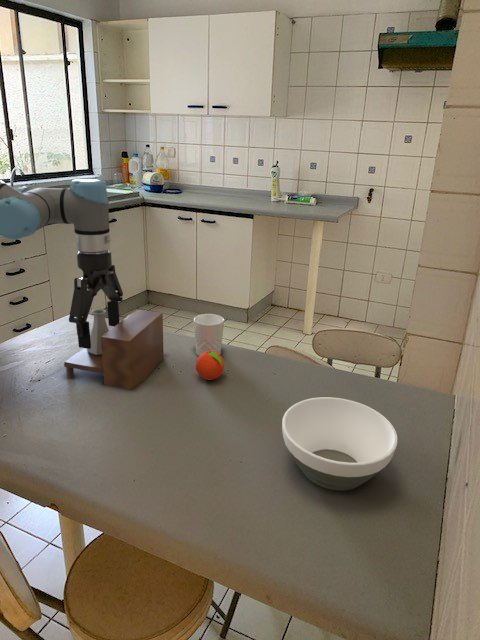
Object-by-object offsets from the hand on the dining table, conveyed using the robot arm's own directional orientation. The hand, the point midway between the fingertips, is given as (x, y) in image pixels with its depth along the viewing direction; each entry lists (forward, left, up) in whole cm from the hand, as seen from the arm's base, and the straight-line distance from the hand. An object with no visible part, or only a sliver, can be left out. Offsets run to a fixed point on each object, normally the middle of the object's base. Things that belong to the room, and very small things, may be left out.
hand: (100, 336), depth 113 cm
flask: (0, 0, -4) cm, 4 cm away
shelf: (+5, 0, -8) cm, 10 cm away
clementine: (+28, +3, -9) cm, 29 cm away
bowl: (+59, -22, -9) cm, 63 cm away
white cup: (+23, +16, -9) cm, 29 cm away
